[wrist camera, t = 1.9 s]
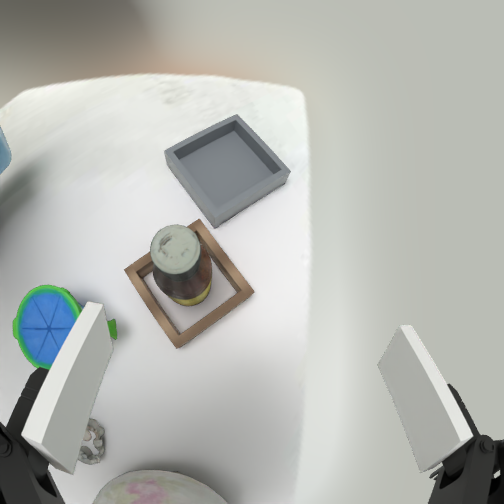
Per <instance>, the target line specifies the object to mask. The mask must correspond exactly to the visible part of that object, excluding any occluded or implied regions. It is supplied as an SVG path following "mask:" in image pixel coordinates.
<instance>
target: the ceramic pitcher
mask: <svg viewBox="0 0 504 504" xmlns="http://www.w3.org/2000/svg"><path fill="white" fill-rule="evenodd" d="M93 504H228V503H227V502H226V501H225V500H224V499H223V498H222V497H221V496H220V495H219V494H217V493H216V492H215V491H213V490H212V489H211V488H210V487H208V486H207V485H205V484H203V483H201V482H199V481H197V480H195V479H193V478H190V477H188V476H185V475H183V474H181V473H179V472H168V471H162V470H139V471H132V472H128V473H125V474H123V475H120V476H118V477H116V478H115V479H113V480H111V481H110V482H109V483H107V484H106V485H105V486H104V487H103V488H102V489H101V491H100V492H99V494H98V495H97V497H96V498H95V500H94V502H93Z"/></svg>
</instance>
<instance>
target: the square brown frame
mask: <svg viewBox="0 0 504 504" xmlns="http://www.w3.org/2000/svg"><path fill="white" fill-rule="evenodd" d="M187 228H189V229H191V230H192V231H193V232H194V233H195V234H196V235H197V237H198V239H199V242H200V243H201V244H202V246H203V247H204V248H205V250H206V251H207V253H208V254H209V255H210V257H211V258H212V259H213V261H214V262H215V263H216V265H217V266H218V267H219V269H220V270H221V271H222V273H223V274H224V276H225V277H226V278H227V280H228V281H229V282H230V284H231V285H232V286H233V287H234V289H235V290H236V291H237V294H236V295H234V296H233V297H232V298H230V299H229V300H227V301H226V302H225V303H223V304H222V305H221V306H219V307H218V308H216V309H215V310H214V311H212V312H211V313H210V314H208V315H207V316H205V317H204V318H203V319H201V320H200V321H198V322H197V323H196V324H194V325H193V326H191V327H190V328H189V329H187V330H186V331H184V332H183V333H182V334H180V333H179V332H178V330H177V329H176V327H175V326H174V325H173V323H172V322H171V320H170V319H169V317H168V316H167V315H166V313H165V312H164V310H163V309H162V307H161V306H160V304H159V303H158V301H157V300H156V298H155V297H154V295H153V294H152V292H151V291H150V289H149V288H148V286H147V285H146V283H145V282H144V280H143V277H144V276H146V275H147V274H149V273H150V272H152V271H153V264H154V263H153V261H152V259H151V255H150V252H149V253H147V254H146V255H144V256H143V257H141V258H140V259H139V260H137V261H136V262H134V263H133V264H131V265H130V266H129V267H127V268H126V269H124V271H125V272H126V274H127V276H128V277H129V279H130V280H131V282H132V284H133V285H134V287H135V288H136V290H137V292H138V293H139V295H140V296H141V298H142V299H143V301H144V302H145V304H146V306H147V307H148V309H149V310H150V312H151V313H152V315H153V316H154V317H155V319H156V320H157V322H158V323H159V325H160V326H161V328H162V329H163V330H164V332H165V333H166V335H167V336H168V338H169V339H170V340H171V342H172V343H173V344H174V346H175V347H176V349H178V348H180V347H182V346H183V345H184V344H186V343H187V342H189V341H190V340H191V339H193V338H194V337H196V336H197V335H198V334H200V333H201V332H203V331H204V330H205V329H207V328H208V327H210V326H211V325H212V324H214V323H215V322H216V321H218V320H219V319H221V318H222V317H223V316H225V315H226V314H227V313H229V312H230V311H231V310H233V309H234V308H235V307H237V306H238V305H240V304H241V303H242V302H244V301H245V300H246V299H248V298H249V297H250V296H251V295H252V294H253V293H254V290H253V289H252V288H251V287H250V285H249V284H248V283H247V281H246V280H245V279H244V277H243V276H242V275H241V273H240V272H239V271H238V269H237V268H236V267H235V266H234V264H233V263H232V262H231V260H230V259H229V258H228V256H227V255H226V254H225V252H224V251H223V250H222V248H221V247H220V246H219V244H218V243H217V242H216V240H215V239H214V238H213V236H212V235H211V234H210V232H209V231H208V230H207V228H206V227H205V226H204V224H203V223H202V221H201V220H200V219H198V220H196V221H195V222H193V223H192V224H190V225H189V226H187Z"/></svg>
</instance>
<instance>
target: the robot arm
mask: <svg viewBox="0 0 504 504" xmlns="http://www.w3.org/2000/svg"><path fill="white" fill-rule="evenodd" d="M10 161H11V151H10V148H9V145H8V143H7V140H6V138H5V136H4V133H3V131H2V129H1V127H0V174H1V173H2V172H3V171H4V170H5V169H6V168H7V167H8V165H9V164H10ZM113 350H114V349H113V345H112V341H111V337H110V333H109V328H108V324H107V319H106V314H105V309H104V304H99V303H93V302H87V304H86V305H85V307H84V309H83V310H82V312H81V314H80V315H79V317H78V319H77V320H76V322H75V324H74V326H73V327H72V329H71V331H70V333H69V335H68V336H67V338H66V340H65V342H64V344H63V346H62V347H61V349H60V351H59V353H58V355H57V357H56V359H55V361H54V363H53V365H52V367H51V369H50V370H49V369H45V368H42V367H39V368H38V369H37V370H36V371H34V372H33V373H32V374H31V375H30V377H29V379H28V381H27V383H26V385H25V388H24V389H23V391H22V393H21V397H19V399H18V402H17V404H16V406H15V408H14V410H13V412H12V415H11V417H10V419H9V422H8V424H7V426H6V427H5V426H4V425H3V424H2V423H1V422H0V504H65V502H64V500H63V498H62V496H61V495H60V493H59V491H58V489H57V487H56V484H55V482H54V480H53V478H52V476H51V474H50V472H49V470H48V465H49V463H50V464H51V465H52V466H54V467H55V468H56V469H59V470H61V471H64V472H67V473H69V474H72V475H73V474H74V470H75V466H76V462H77V459H78V455H79V451H80V448H81V444H82V441H83V437H84V434H85V430H86V427H87V424H88V421H89V417H90V414H91V411H92V408H93V405H94V402H95V399H96V396H97V393H98V390H99V388H100V385H101V382H102V379H103V376H104V374H105V371H106V368H107V365H108V363H109V360H110V358H111V355H112V352H113ZM377 365H378V368H379V370H380V372H381V374H382V377H383V379H384V381H385V383H386V386H387V388H388V391H389V393H390V395H391V398H392V400H393V402H394V405H395V407H396V410H397V412H398V415H399V417H400V420H401V422H402V425H403V427H404V430H405V432H406V435H407V438H408V440H409V443H410V445H411V448H412V451H413V453H414V456H415V459H416V462H417V465H418V467H419V470H420V473H422V472H425V471H427V470H430V469H432V468H434V467H436V466H437V465H438V464H440V463H441V462H442V463H443V466H442V467H440V468H439V469H437V470H436V471H435V472H433V473H432V474H431V475H430V477H429V478H433V477H434V476H435V475H437V474H438V476H436V477H435V478H434V480H436V482H435V485H434V488H433V491H432V494H431V497H430V499H429V502H428V504H504V440H496V441H493V440H492V439H491V438H490V437H489V436H487V435H480V434H479V432H478V430H477V428H476V426H475V424H474V422H473V420H472V418H471V416H470V414H469V412H468V410H467V409H466V408H465V405H464V403H463V402H462V399H461V397H460V396H459V394H458V392H457V391H456V390H455V389H454V388H453V387H452V386H451V385H450V384H446V382H445V380H444V379H443V377H442V375H441V373H440V372H439V370H438V368H437V366H436V365H435V363H434V361H433V360H432V358H431V356H430V355H429V353H428V351H427V350H426V348H425V347H424V345H423V343H422V342H421V340H420V338H419V337H418V335H417V334H416V332H415V330H414V329H413V327H412V326H411V325H401V326H399V327H398V329H397V331H396V332H395V334H394V336H393V338H392V340H391V342H390V344H389V345H388V347H387V349H386V351H385V352H384V354H383V356H382V357H381V359H380V361H379V363H378V364H377ZM499 470H500V476H498V477H497V478H494V474H495V473H496V472H497V471H499Z"/></svg>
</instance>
